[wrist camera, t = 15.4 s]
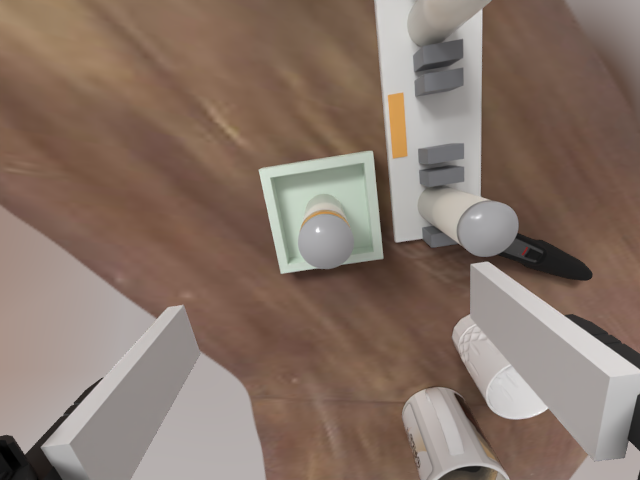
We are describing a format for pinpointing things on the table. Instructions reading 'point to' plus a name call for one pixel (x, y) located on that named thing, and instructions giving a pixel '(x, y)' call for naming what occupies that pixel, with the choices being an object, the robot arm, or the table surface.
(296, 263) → the tray
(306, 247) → the marked fuse
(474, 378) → the white cup
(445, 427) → the mug
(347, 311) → the table surface
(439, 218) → the fuse
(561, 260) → the electric trimmer
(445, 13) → the cream grey cylinder
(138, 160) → the table surface
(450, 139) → the board
